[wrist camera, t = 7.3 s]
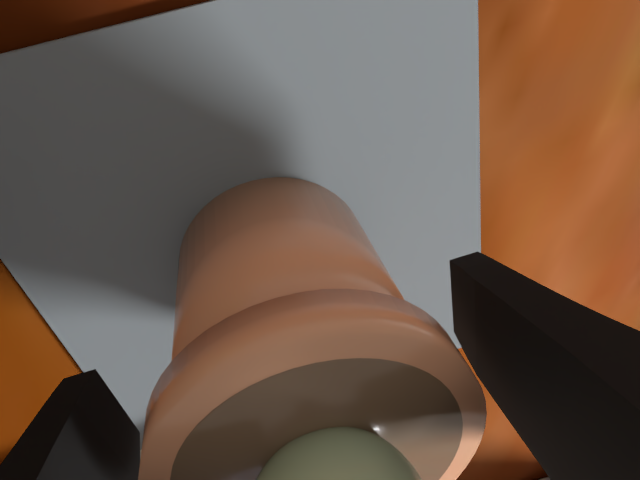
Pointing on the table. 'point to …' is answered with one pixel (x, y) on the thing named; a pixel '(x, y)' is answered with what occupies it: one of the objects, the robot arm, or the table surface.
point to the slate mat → (230, 154)
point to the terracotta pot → (302, 354)
